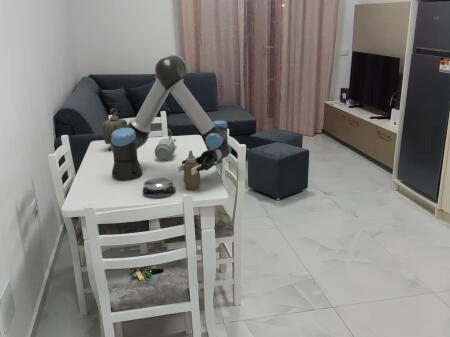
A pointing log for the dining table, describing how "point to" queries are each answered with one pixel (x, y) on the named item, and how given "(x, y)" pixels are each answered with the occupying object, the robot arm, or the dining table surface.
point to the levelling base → (159, 193)
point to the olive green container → (112, 127)
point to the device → (165, 149)
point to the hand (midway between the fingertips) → (185, 170)
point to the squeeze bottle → (190, 180)
